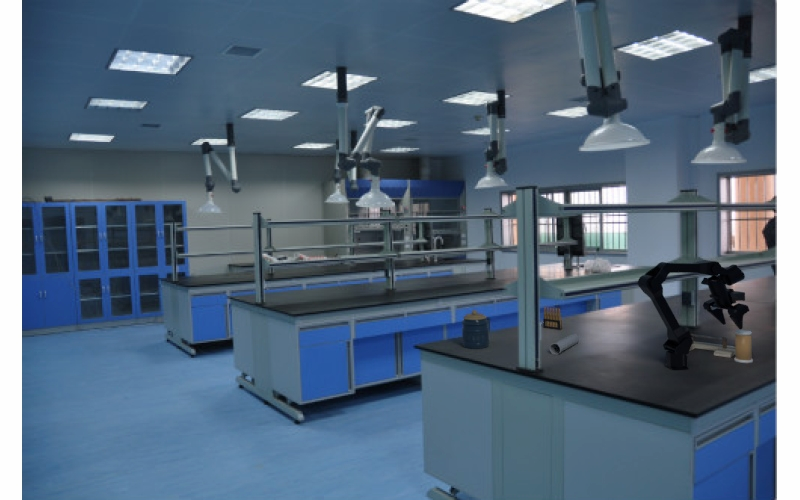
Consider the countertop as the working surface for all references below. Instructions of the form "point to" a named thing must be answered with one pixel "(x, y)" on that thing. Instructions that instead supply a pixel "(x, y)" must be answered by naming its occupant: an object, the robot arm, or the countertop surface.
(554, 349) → the tube
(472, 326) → the canister
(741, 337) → the lidded paper cup
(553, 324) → the ammunition clip
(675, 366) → the robot arm
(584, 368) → the countertop surface
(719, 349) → the grey piece
